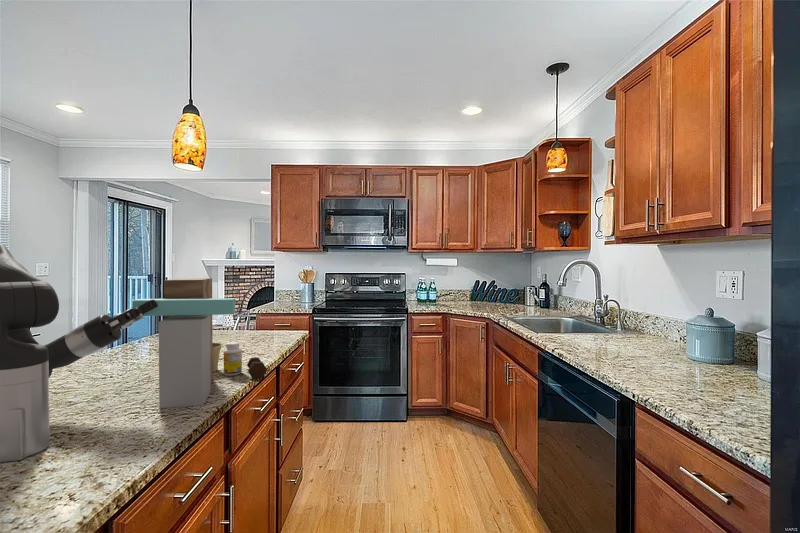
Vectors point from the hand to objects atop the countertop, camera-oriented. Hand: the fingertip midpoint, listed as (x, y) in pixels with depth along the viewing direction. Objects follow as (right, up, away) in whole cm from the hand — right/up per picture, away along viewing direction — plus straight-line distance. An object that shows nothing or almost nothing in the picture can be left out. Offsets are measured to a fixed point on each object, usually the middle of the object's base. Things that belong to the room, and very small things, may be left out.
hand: (158, 301), depth 106 cm
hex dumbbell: (+15, -27, +29) cm, 42 cm away
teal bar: (+6, -3, +2) cm, 7 cm away
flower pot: (-2, -26, +31) cm, 41 cm away
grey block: (+6, -27, +2) cm, 27 cm away
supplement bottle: (+8, -26, +27) cm, 39 cm away
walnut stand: (+1, -26, +13) cm, 30 cm away
